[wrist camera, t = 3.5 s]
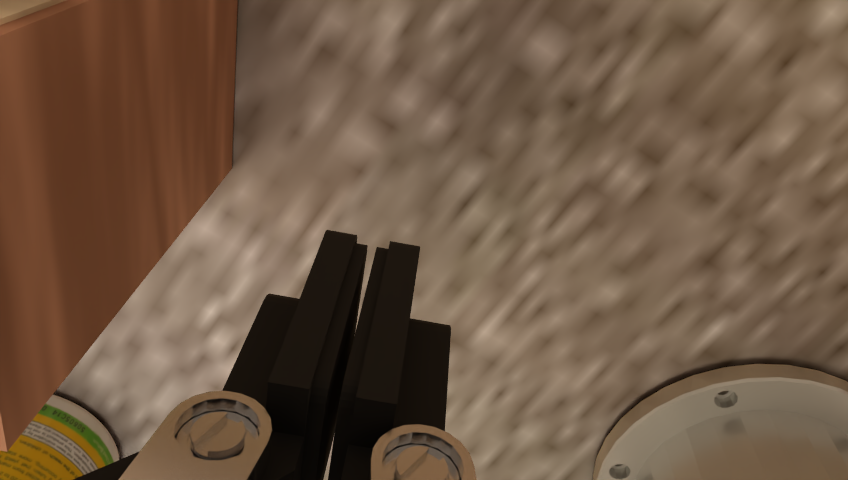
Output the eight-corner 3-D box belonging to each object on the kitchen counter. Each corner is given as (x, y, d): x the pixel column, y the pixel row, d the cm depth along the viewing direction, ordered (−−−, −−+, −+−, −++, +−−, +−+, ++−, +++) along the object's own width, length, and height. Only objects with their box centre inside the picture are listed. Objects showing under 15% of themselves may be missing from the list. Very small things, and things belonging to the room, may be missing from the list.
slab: (241, -64, 22) (-67, 55, 10) (232, 170, 26) (4, 459, 14) (161, -79, 22) (-246, 21, 10) (164, 157, 26) (-123, 435, 14)
